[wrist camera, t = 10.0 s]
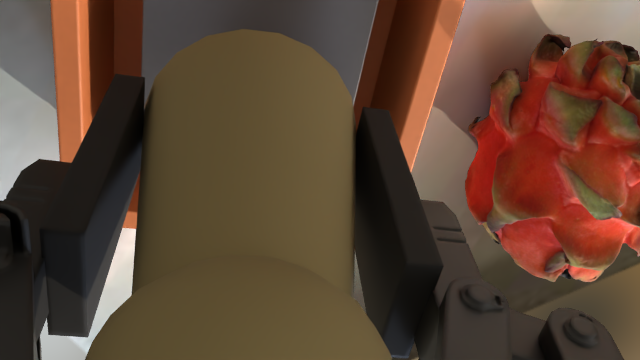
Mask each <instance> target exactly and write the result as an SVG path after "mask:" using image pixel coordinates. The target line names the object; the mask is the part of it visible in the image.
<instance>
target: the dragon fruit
mask: <svg viewBox="0 0 640 360" xmlns="http://www.w3.org/2000/svg"><path fill="white" fill-rule="evenodd" d="M596 40H597V39H596ZM596 40H594V41H584V42H582V43H579V44H576V45H574V46H572V47H571V42H570V38H569V37H565V36H562V35H551V34H547V35H545V36H544V38H543V39H542V40H541V42H540V43H539V44H538V45H537V47H536V48H535V50H534V51H533V53H532V55H531V58H530V62H529V78H528V80H527V81H525V82H519V73H518V70H517V69H507V70H505V71H503V72H502V74H501V75H500V76H499V77H498V80H497V81H496V82H494V83H492V84H491V89H490V90H491V94H490V98H491V106H490V112H489V113H490V115H489V116H488V117H486V118H485V119H484V120H482V121H479V122H477V121H478V120H479V118H480V117H476V118H475V120H474V121H473V123H472V124H470V125H469V129H468V131H469V132H470V133H471V135H472V136H473V137H474V138H475V139H476V140H477V141H478V151H477V153H476V156H475V158H474V160H473V162H472V164H471V166H470V168H469V170H468V175H467V179H466V181H465V191H466V197H467V203H468V207H469V210H470V212H471V213H472V215H473V217H474V219H475V220H476V222H477V223H478V224H479V225H481V224H483V226H484V228H485V229H486V230H487V231H488V233H489V234H490V236H491V238H492V237H493V238H492V240H493V241H495V242H496V243H498V244H502V247H503V249H505V250H506V251H507V252H508V253H509V254H510V255H511V256H512V258H513V259H514V261H515V263H516V264H517V265H519V266H520V267H522V268H523V269H525V270H526V271H528V272H529V273H531V274H533V275H535V276H537V277H541V278H544V279H547V280H550V281H552V282H555V280H556V279H557V278H558V276H559V275H561V276H563V277H565V278H567V279H571V276H572V277H573V278H574V279H578V281H581V280H582V281H584V282H591V281H594V280H596V279H597V278H598V277H599V276H600V275H601V274H602V273H603V271H604V269H606V268H607V267H609V266H610V265H611V264H612V263H613V262H614V260H615V259H616V257H617V256H618V254H619V252H620V249H621V246H622V243H627V244H628V245H629V246H630V247H631V248H632V249H634V250H636V251H637V256H640V57H639V55H638V51H637V50H635V49H634V48H633V47H631V46H627V45H622V44H621V43H620V42H617V41H602V42H598V41H596ZM565 47H567V48H569V49H568V50H567V52H566V53H565V54H564V55H563V52H562V50H563V51H564V48H565ZM570 47H571V48H570Z"/></svg>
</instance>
